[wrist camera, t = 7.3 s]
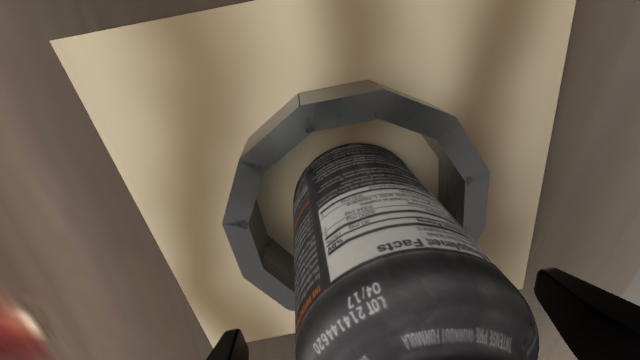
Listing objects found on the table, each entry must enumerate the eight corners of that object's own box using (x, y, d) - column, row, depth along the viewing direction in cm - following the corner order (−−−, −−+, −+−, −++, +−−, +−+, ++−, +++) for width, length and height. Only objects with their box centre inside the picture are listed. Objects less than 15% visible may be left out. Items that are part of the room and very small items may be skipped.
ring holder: (570, -59, 12) (665, -91, 9) (514, 279, 20) (553, 322, 17) (64, 40, 12) (-14, 42, 9) (216, 337, 20) (202, 390, 17)
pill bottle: (364, 260, 17) (474, 609, 7) (270, 215, 15) (223, 598, 5) (435, 178, 15) (751, 493, 5) (338, 114, 13) (503, 401, 3)
